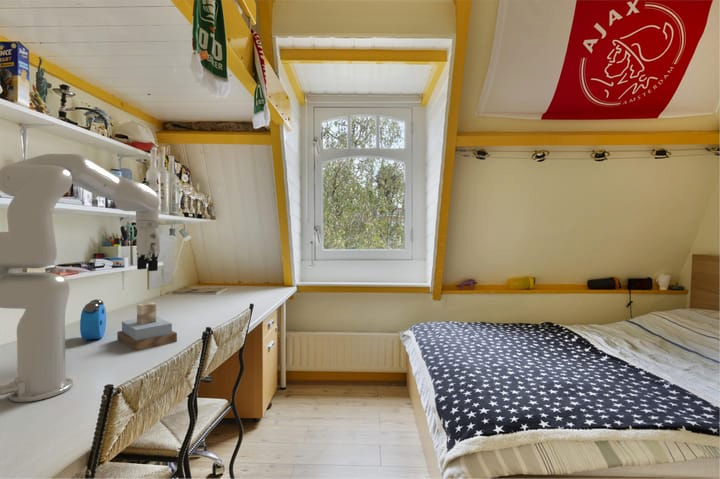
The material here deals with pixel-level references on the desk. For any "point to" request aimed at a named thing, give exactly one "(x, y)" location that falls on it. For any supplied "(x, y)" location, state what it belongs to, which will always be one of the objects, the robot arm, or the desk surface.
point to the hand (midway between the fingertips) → (147, 270)
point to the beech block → (146, 313)
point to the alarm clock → (93, 320)
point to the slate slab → (146, 329)
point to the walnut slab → (146, 341)
